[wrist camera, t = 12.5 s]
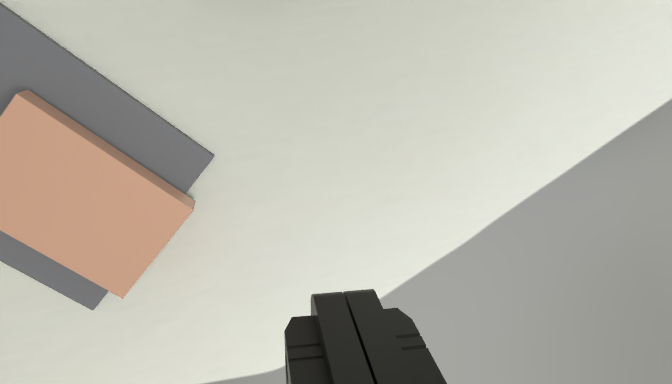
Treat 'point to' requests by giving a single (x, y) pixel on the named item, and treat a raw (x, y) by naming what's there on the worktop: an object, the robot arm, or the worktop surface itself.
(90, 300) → the mat
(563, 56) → the worktop surface
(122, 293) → the tile
